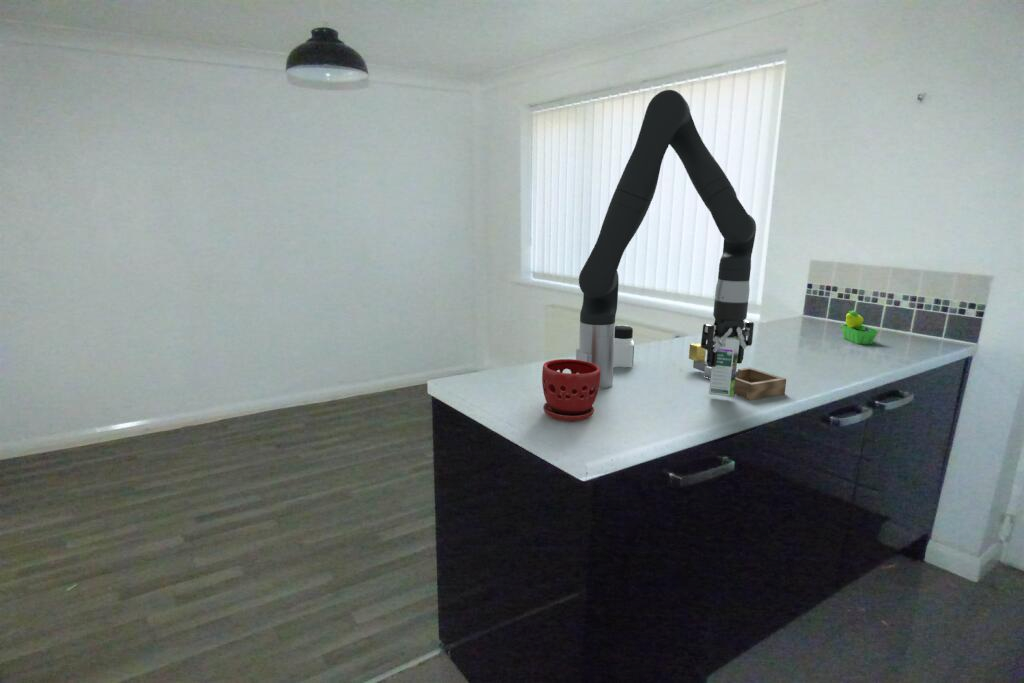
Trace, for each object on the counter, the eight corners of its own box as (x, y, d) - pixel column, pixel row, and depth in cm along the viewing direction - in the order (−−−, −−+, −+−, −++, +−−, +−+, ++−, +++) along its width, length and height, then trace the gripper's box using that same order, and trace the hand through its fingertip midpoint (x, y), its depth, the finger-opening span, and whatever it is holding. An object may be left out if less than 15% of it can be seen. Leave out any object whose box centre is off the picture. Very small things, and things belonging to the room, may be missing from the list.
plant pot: (558, 429, 119) (559, 376, 116) (532, 410, 131) (532, 361, 128) (610, 420, 124) (612, 369, 121) (580, 402, 136) (581, 355, 133)
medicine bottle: (633, 368, 166) (634, 329, 163) (608, 366, 167) (610, 328, 165) (632, 362, 173) (634, 324, 170) (609, 360, 174) (611, 323, 171)
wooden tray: (750, 400, 137) (751, 384, 136) (715, 386, 148) (716, 372, 147) (784, 393, 142) (786, 379, 141) (748, 381, 153) (749, 367, 152)
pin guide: (724, 385, 149) (725, 373, 149) (703, 377, 157) (704, 366, 156) (738, 382, 151) (739, 371, 151) (717, 375, 158) (718, 364, 158)
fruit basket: (878, 344, 195) (882, 313, 192) (852, 344, 195) (857, 313, 192) (858, 337, 206) (863, 307, 203) (834, 337, 206) (838, 307, 203)
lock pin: (714, 375, 154) (716, 352, 152) (688, 366, 163) (689, 344, 162) (723, 374, 155) (725, 351, 154) (696, 365, 165) (698, 343, 163)
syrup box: (708, 394, 136) (714, 337, 132) (709, 387, 141) (715, 332, 138) (733, 397, 134) (740, 339, 130) (733, 390, 139) (740, 334, 136)
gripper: (720, 302, 126) (713, 371, 129) (766, 299, 131) (758, 365, 135) (697, 297, 132) (691, 363, 136) (741, 295, 138) (735, 358, 142)
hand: (724, 364), depth 136 cm, fingers closed on syrup box, 8 cm apart
